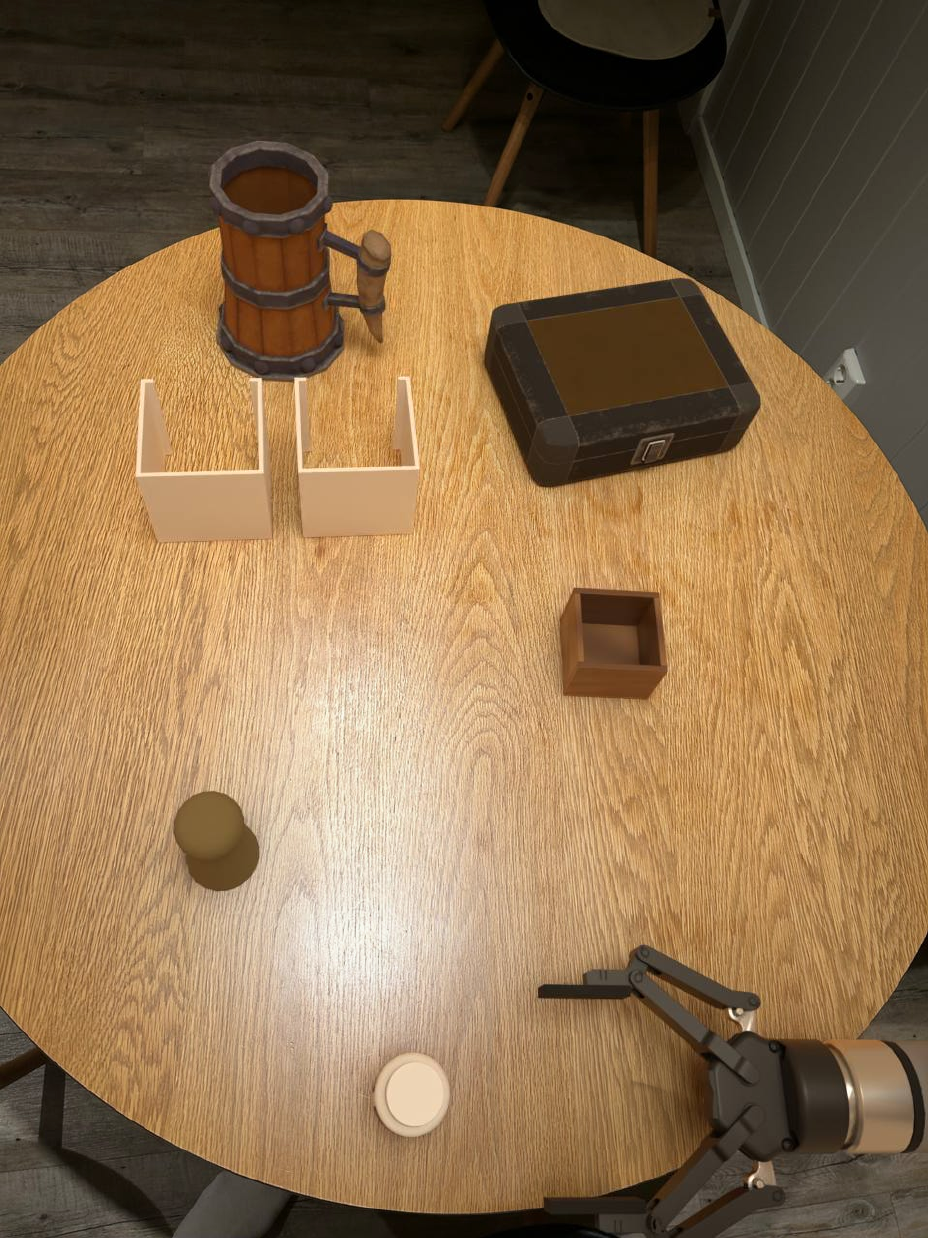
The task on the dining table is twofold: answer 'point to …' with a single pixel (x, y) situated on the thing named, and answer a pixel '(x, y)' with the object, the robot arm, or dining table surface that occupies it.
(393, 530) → the beige u-shaped pieces
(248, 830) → the cork
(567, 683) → the wooden box
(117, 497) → the dining table surface
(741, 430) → the cash box
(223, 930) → the dining table surface
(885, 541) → the dining table surface
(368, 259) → the mug
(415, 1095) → the pill bottle
